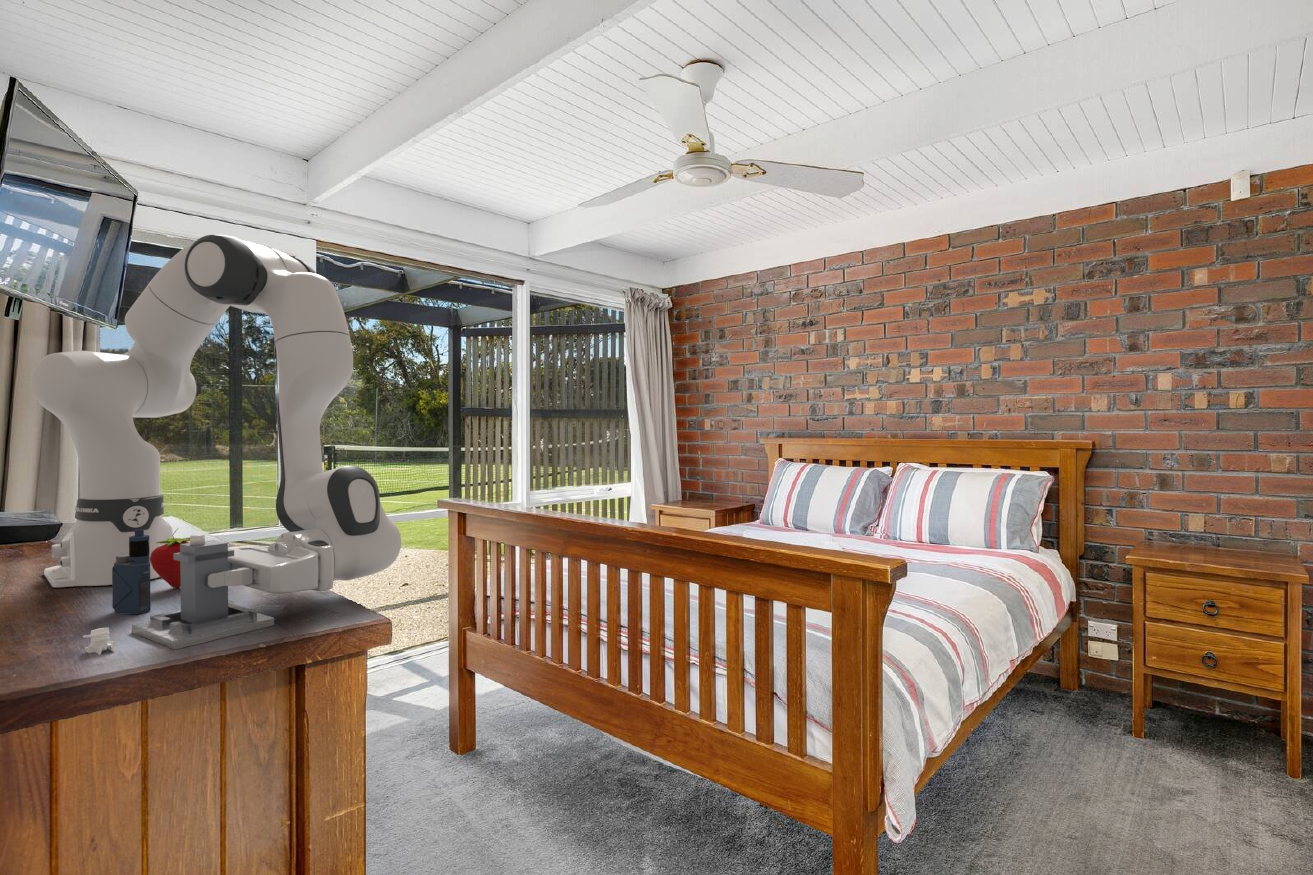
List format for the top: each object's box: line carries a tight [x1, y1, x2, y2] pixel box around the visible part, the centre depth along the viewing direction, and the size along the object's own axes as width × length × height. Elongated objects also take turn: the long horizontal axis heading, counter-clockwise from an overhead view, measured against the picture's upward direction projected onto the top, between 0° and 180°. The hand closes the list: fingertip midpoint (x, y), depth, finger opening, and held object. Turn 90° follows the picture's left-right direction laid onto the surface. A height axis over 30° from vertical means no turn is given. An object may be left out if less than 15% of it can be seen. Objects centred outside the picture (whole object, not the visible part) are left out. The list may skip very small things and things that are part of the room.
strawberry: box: [150, 529, 190, 589], centre depth 112 cm, size 6×8×10 cm
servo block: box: [174, 533, 234, 623], centre depth 90 cm, size 4×6×11 cm
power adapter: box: [82, 627, 116, 656], centre depth 81 cm, size 3×3×3 cm
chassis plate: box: [131, 602, 275, 651], centre depth 91 cm, size 12×12×2 cm
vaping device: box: [111, 529, 151, 615], centre depth 98 cm, size 3×5×12 cm, turn 79°
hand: (196, 578), depth 90 cm, fingers closed on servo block, 4 cm apart
